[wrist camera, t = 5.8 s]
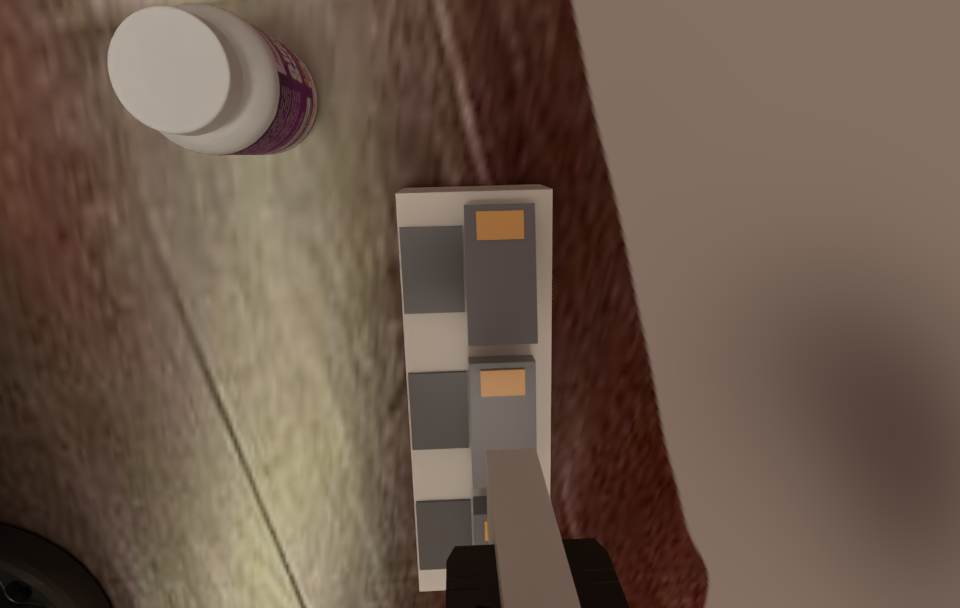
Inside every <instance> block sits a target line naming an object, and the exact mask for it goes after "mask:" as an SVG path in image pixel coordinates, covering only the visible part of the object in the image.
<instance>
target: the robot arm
mask: <svg viewBox="0 0 960 608" xmlns="http://www.w3.org/2000/svg"><path fill="white" fill-rule="evenodd" d="M486 482H487V531H488V541H489V545H469V546H455V547H454V548H453V550H452V552H451V554H450V555H449V557H448V559H447V560H446V608H629V606H628V603H627V601H626V598H625V595H624V593H623V590H622V588H621V585H620V583H619V581H618V577H617V575H616V572H615V570H614V568H613V565H612V562H611V559H610V557H609V554H608V552H607V550H606V549H604V548H603V547H602V546H601V545H600V544H599V543H598V542H597V541H596V540H595V539H594V538H586V539H565V540H562V539H561V536H560V532H559V528H558V525H557V521H556V518H555V514H554V511H553V507H552V504H551V500H550V497H549V493H548V490H547V486H546V483H545V479H544V476H543V472H542V468H541V465H540V461H539V458H538V454H537V451H536V448H529V449H504V450H486ZM0 608H110V606H109V604H108V602H107V600H106V598H105V596H104V594H103V593H102V591H101V590H100V588H99V586H98V585H97V584H96V582H95V581H94V580H93V579H92V577H91V576H90V575H89V574H88V573H87V572H86V571H85V570H84V569H83V568H82V567H81V566H80V565H79V564H78V563H77V562H76V561H74V560H73V559H72V558H71V557H70V556H68V555H67V554H66V553H64V552H63V551H61V550H60V549H58V548H57V547H55V546H53V545H52V544H50V543H48V542H46V541H44V540H42V539H40V538H38V537H36V536H34V535H32V534H29V533H27V532H24V531H21V530H19V529H15V528H12V527H9V526H5V525H0Z"/></svg>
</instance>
